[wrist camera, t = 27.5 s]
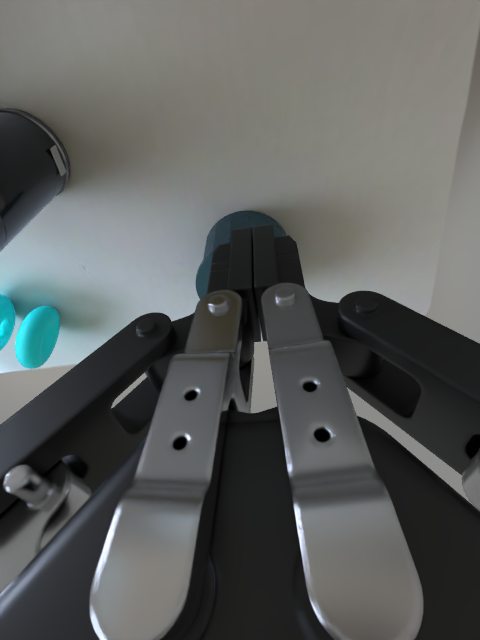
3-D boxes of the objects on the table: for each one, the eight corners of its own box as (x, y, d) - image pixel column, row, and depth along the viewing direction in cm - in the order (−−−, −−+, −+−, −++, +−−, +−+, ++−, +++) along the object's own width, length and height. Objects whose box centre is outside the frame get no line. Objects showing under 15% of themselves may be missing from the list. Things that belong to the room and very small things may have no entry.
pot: (215, 286, 50) (211, 323, 45) (197, 217, 43) (189, 251, 37) (290, 277, 49) (296, 314, 43) (285, 204, 41) (291, 237, 35)
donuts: (-8, 278, 50) (-51, 324, 43) (61, 295, 52) (32, 342, 45) (1, 322, 57) (-34, 369, 50) (63, 336, 59) (38, 382, 52)
